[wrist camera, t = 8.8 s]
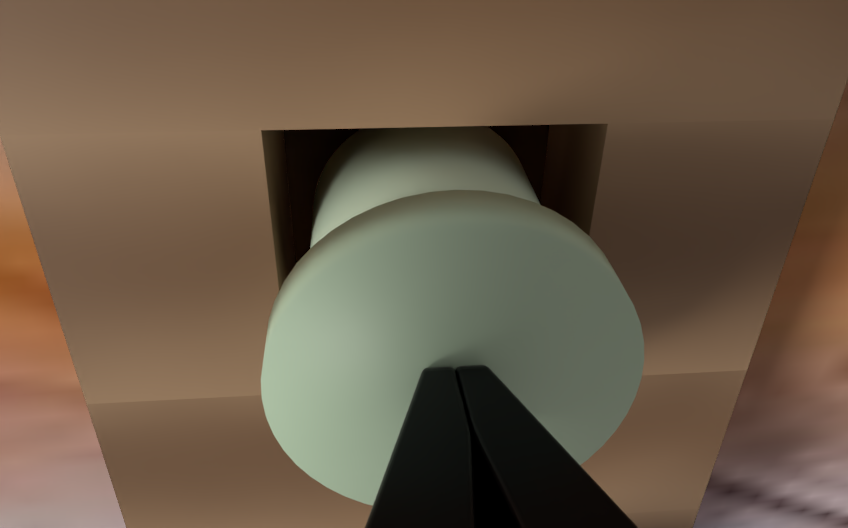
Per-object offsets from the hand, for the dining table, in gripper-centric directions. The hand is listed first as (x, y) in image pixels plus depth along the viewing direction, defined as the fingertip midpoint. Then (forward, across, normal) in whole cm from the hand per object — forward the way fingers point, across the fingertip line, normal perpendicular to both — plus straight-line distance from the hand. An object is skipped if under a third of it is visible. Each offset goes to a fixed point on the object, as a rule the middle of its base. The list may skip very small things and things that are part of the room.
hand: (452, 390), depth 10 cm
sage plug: (+5, 0, 0) cm, 5 cm away
